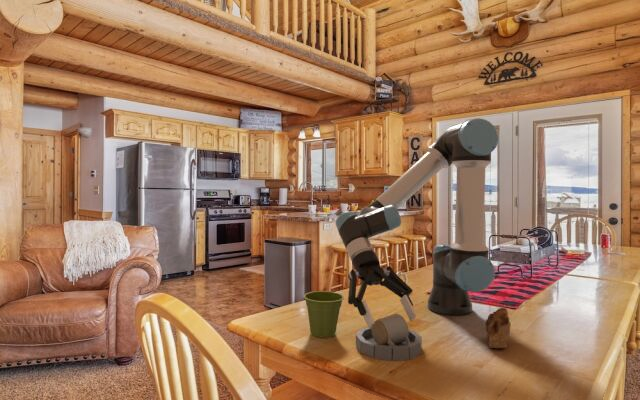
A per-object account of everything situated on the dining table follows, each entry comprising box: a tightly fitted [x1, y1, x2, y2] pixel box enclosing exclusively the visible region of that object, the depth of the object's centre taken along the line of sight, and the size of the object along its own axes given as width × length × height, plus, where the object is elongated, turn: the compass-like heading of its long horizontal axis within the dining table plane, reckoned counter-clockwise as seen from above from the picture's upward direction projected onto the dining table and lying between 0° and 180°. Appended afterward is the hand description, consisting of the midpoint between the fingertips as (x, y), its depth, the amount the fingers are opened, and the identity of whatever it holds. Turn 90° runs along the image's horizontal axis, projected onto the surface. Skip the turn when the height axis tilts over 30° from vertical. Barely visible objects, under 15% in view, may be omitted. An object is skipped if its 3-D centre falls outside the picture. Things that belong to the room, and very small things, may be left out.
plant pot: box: [303, 290, 345, 339], centre depth 117 cm, size 12×12×11 cm
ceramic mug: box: [371, 313, 410, 346], centre depth 107 cm, size 10×8×7 cm
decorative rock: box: [484, 307, 512, 349], centre depth 110 cm, size 12×6×11 cm, turn 160°
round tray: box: [355, 326, 423, 362], centre depth 108 cm, size 17×17×3 cm
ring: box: [395, 270, 408, 285], centre depth 170 cm, size 7×3×8 cm, turn 120°
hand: (393, 322), depth 106 cm, fingers open, 13 cm apart
